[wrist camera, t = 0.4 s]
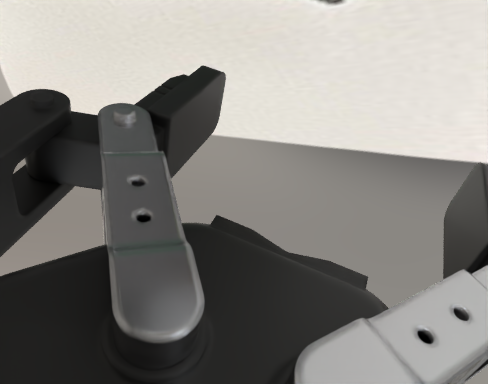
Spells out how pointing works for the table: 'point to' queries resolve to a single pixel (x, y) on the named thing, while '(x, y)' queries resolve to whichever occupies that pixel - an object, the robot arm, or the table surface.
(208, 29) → the table surface
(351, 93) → the table surface
